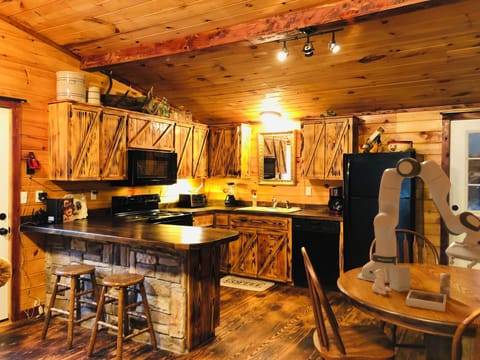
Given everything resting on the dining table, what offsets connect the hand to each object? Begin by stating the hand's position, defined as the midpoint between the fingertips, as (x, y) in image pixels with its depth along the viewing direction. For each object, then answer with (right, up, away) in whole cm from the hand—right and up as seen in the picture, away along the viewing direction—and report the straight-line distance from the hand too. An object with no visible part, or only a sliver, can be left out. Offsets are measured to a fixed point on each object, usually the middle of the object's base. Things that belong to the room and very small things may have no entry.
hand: (459, 265), depth 193 cm
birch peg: (-10, -15, -4) cm, 18 cm away
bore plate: (-23, -14, -13) cm, 30 cm away
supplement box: (-26, -15, +9) cm, 32 cm away
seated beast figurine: (-38, -15, +5) cm, 41 cm away
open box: (-23, -15, -13) cm, 31 cm away
